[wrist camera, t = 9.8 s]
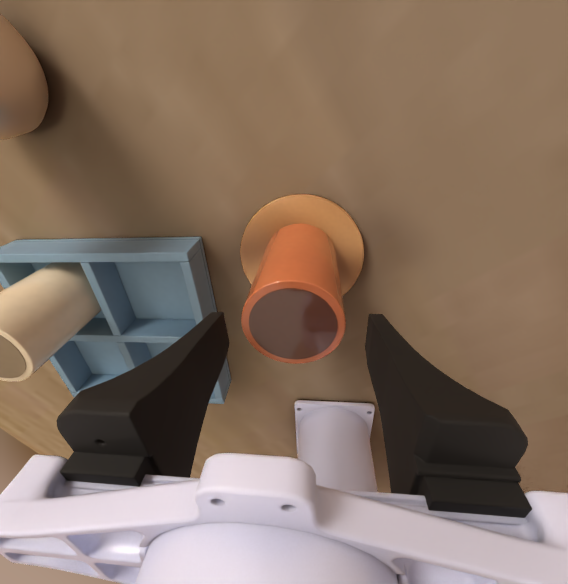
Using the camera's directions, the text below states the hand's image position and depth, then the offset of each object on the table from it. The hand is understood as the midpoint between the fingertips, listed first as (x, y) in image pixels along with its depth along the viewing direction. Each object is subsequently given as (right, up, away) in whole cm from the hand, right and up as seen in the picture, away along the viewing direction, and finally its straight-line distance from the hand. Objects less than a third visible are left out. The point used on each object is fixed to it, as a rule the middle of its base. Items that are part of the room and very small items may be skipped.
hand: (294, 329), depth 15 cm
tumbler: (+1, +4, +7) cm, 8 cm away
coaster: (+1, +5, +7) cm, 9 cm away
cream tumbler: (-18, +2, +10) cm, 20 cm away
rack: (-14, -1, +12) cm, 18 cm away
